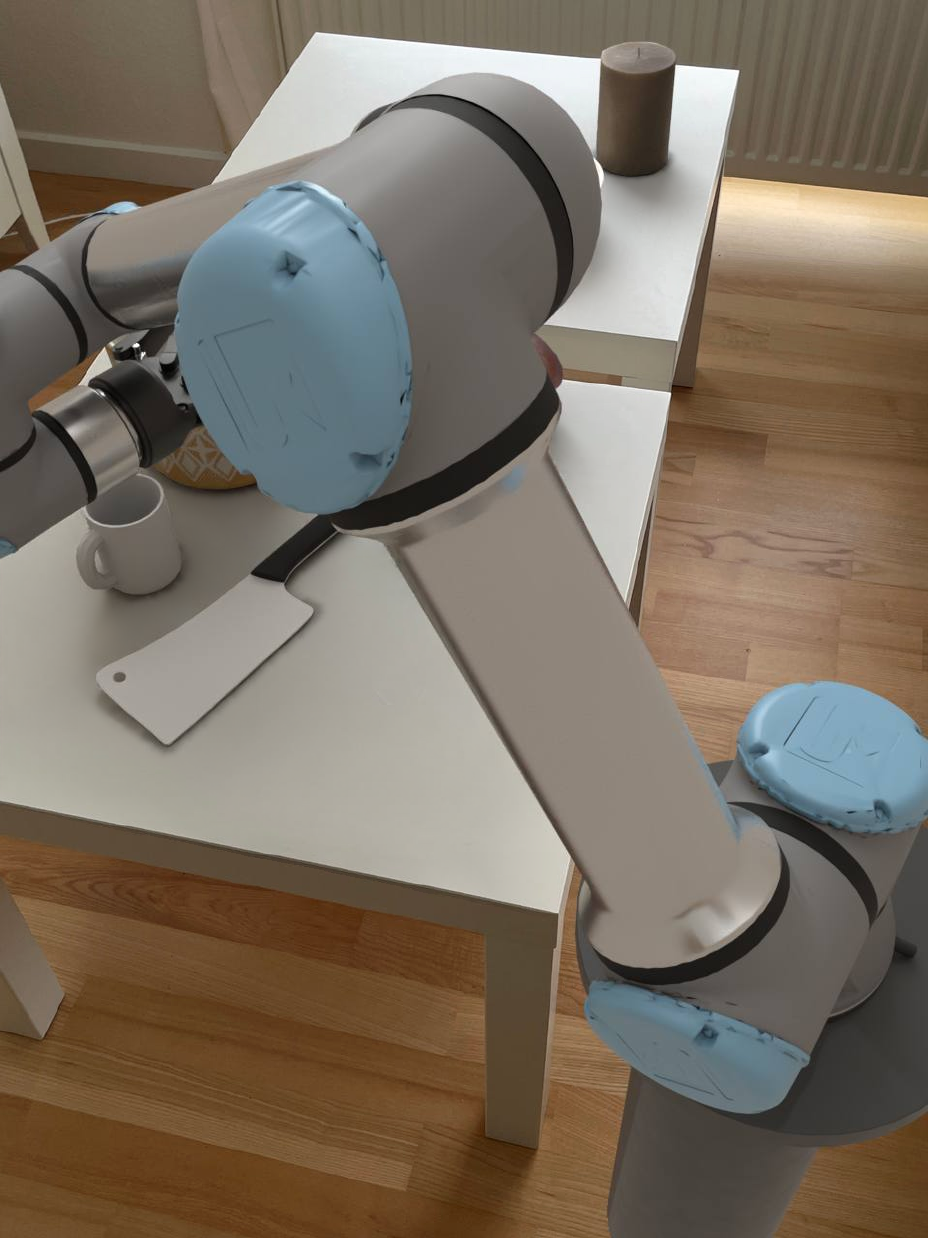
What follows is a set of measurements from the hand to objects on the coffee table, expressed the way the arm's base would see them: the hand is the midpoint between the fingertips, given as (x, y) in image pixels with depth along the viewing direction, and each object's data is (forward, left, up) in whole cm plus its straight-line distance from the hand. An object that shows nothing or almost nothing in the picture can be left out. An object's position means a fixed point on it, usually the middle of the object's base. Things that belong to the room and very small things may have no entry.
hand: (326, 301), depth 102 cm
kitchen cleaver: (+1, +13, -26) cm, 29 cm away
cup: (+14, +16, -26) cm, 34 cm away
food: (-2, -16, -25) cm, 30 cm away
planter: (+20, -4, -26) cm, 33 cm away
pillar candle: (+11, -78, -26) cm, 83 cm away
